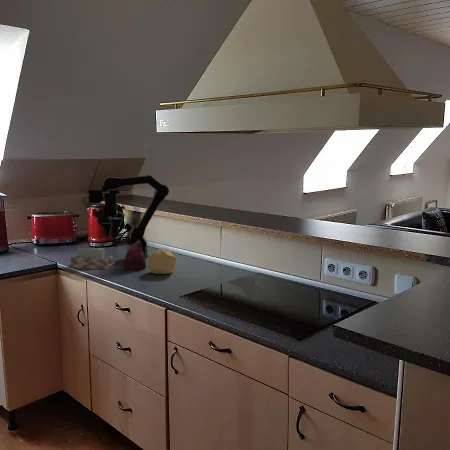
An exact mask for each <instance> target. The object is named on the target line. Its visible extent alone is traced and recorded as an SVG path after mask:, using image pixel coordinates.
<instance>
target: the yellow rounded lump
mask: <svg viewBox="0 0 450 450" xmlns="http://www.w3.org/2000/svg"><path fill="white" fill-rule="evenodd" d="M147 262H148V263H147V265H148V269H149V271H150V272H151V273H152V274H155V275H168V274H171V273H172V272H173V271H174V270H175V265H176V262H177V259H176V256H175V255H174V253H173V252H172V251H170V250H169V249H168V248H165V249H164V248H158V249H157V250H155V251H153V252H152V253H151V254H150V255H149V256H148V260H147Z"/></svg>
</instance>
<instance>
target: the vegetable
mask: <svg viewBox="0 0 450 450" xmlns="http://www.w3.org/2000/svg"><path fill="white" fill-rule="evenodd" d="M146 259H147V258H145V255H144V253H143V251H142V247H141V242H140V240H138V241H136V242H135V243H133V244H132V245H131V246H130V247H129V248H128V250H127V252H126V254H125V258H124V262H123V269H124V270H126V271H130V272H135V271H137V272H138V271H142V270H145V269H146V268H147V262H146Z"/></svg>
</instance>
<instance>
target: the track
mask: <svg viewBox="0 0 450 450" xmlns="http://www.w3.org/2000/svg"><path fill="white" fill-rule="evenodd" d="M115 264H116V263H115V261H114V256H105V259H99V258H79V257H78V254H76V255H75V256H71V257H70V264H68V268H72V269H73V268H75V269H92V270H93V269H96V270H107V269H108V268H111V267H112V266H114V265H115Z"/></svg>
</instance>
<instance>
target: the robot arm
mask: <svg viewBox="0 0 450 450" xmlns="http://www.w3.org/2000/svg"><path fill="white" fill-rule="evenodd" d="M144 184H148V185H150V187H152V188H153V189H154V192H153V196H152V199H151V201H150V203H149V205H148V207H147V208H146V210H145V212H144V214H143V215H142V217H141V219H140V220H139V222H138V223H137V225H136V226H135V225H134V224H133V225H132V228H131V229H130V230H129V235H128V236H129V239H130V241H131V243H133V244H134V243H135V242H136V241H138V240H140V242H141V247H142V251H143V253H144V255H145V259H147V258H149V257H150V255H149V254H148V244H147V241H146V239H145V238H144V235H145V231H146V229H147V226H148V225H149V223H150V221H151V220H152V217H153V215H154V214H155V213H156V212H157V211H156V210H157V209H158V207H159V205H160V204H161V203H162V202H163V201H164V200H165V199H166V197H167V196H168V195H169V192H170V189H169V187H168V186H167V185H165V184H163V183H160V182H159V181H158V180H157V179H155V178H154V177H153V176H152V175H150V174H147V175H140V176H139V175H138V176H129V177H117V176H107V177H105V178H104V180H103V185H102V186H101V187H100V189H92V188H91V189H89V188H88V205H89V204H93V205H94V204H102V203H103V202H104V205H102V208H101V209H99V208H95V209H92V216H94V218H95V219H97V220H96V222H97V224H98V225H100V226H101V227H102V228H103V229H104V231H103V232H104V233H105V236H106V237H107V238H109V237H110V235H111V230H112V228H113V232H114V234H118V232H119V230H120V227H121V225H122V223H123V221H124V219H125V213H124V212H122V211H118V208H119V204H118V199H117V198H118V195H120V194H121V191H120V190H119V189H118V188H121V187H124V186H125V187H126V186H135V185H144ZM108 190H109V191H108ZM107 191H108V192H107ZM117 194H118V195H117Z"/></svg>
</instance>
